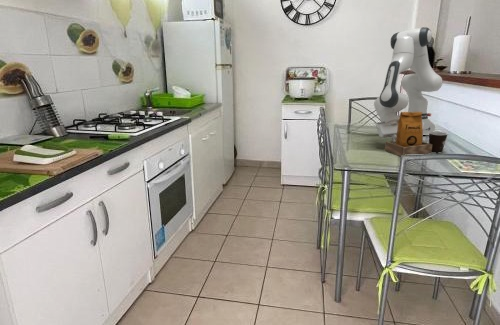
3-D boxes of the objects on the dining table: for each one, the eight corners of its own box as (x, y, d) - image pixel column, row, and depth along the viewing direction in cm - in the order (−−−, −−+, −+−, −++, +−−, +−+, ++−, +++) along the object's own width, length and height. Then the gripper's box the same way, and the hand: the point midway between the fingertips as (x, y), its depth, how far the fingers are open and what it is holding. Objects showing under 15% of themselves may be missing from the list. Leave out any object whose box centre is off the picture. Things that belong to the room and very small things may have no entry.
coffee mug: (435, 154, 174) (438, 135, 171) (422, 150, 182) (425, 132, 179) (452, 152, 177) (455, 134, 174) (439, 148, 185) (442, 130, 182)
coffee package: (422, 154, 174) (428, 113, 167) (397, 154, 176) (402, 113, 170) (417, 150, 183) (422, 110, 176) (393, 149, 185) (397, 110, 179)
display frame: (411, 147, 188) (412, 138, 187) (431, 153, 176) (432, 144, 174) (384, 150, 183) (385, 141, 182) (403, 157, 170) (404, 147, 169)
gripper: (377, 119, 184) (387, 140, 178) (407, 117, 190) (418, 137, 184) (371, 125, 189) (381, 146, 183) (401, 123, 195) (411, 143, 189)
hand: (400, 141), depth 183 cm, fingers closed
